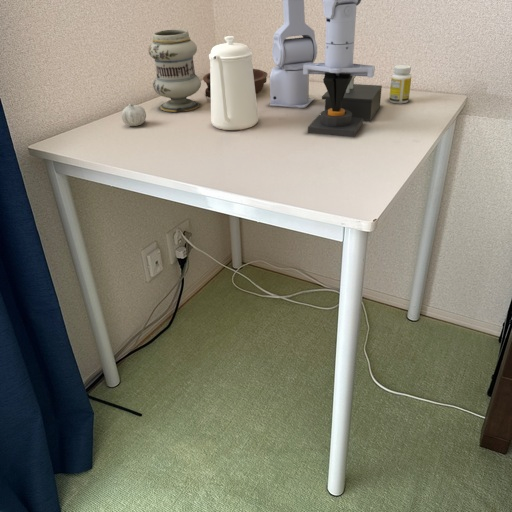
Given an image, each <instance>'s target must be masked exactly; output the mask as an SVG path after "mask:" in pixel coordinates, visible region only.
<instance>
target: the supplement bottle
mask: <svg viewBox="0 0 512 512" xmlns="http://www.w3.org/2000/svg"><path fill="white" fill-rule="evenodd" d="M411 67H412V66H411V65H408V64H396V65H394V66H393V74H392V75H391V76H390V77H391V78H390V88H389V98H388V99H389V100H388V101H389V102H390V103H392V104H399V105H400V104H406V103H408V102H409V99H410V92H411V84H412V74H410V73H411V70H412V68H411Z"/></svg>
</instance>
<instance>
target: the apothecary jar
mask: <svg viewBox="0 0 512 512" xmlns="http://www.w3.org/2000/svg"><path fill="white" fill-rule="evenodd" d="M197 52H198V47H197V44H196V42H195V41H194V40H193V39H191V37H190V35H189V31H188V30H186V29H182V28H179V29H176V28H174V29H163V30H159V31H156V32H153V34H152V42H151V43H150V45H149V46H148V55H149V56H150V57H151V59H153V60H154V65H155V72H156V78H155V79H154V80H153V83H152V88H153V90H154V92H155V93H156V94H158V95H159V96H161V97H164V98H168V99H169V100H168V101H166V102H163V103H162V104H161V105H160V110H162V111H164V112H167V113H180V112H188V111H193V110H195V109H197V108H199V103H198V102H197V101H196V100H194V99H193V100H192V99H190V98H188V97H191V96H193V95H195V94H196V93H197V92H198V91H199V89H200V88H201V86H202V81H201V79H200V77H199V76H198V75H197V74H196V70H195V64H194V63H195V62H194V56H195V55H196V54H197Z"/></svg>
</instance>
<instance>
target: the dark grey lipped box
mask: <svg viewBox="0 0 512 512" xmlns="http://www.w3.org/2000/svg"><path fill="white" fill-rule="evenodd" d="M382 89H383V88H381V90H380V91H379V93H378V94H377V96H376V97H375V99H374V100H373V101H372V103H371V102H355V101H342V105H341V108H342V109H345V110H348V111H350V112H351V113H352V117H356V118H363V122H367V123H369V122H372V120H373V118H374V116H375V115H376V113H377V112H378V110H379V109H380V107H381V100H382V99H381V98H382ZM331 108H332V105H331V100H325V101H324V111H325V110H328V109H331Z"/></svg>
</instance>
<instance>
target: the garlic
mask: <svg viewBox="0 0 512 512" xmlns="http://www.w3.org/2000/svg"><path fill="white" fill-rule="evenodd" d="M121 119H122V120H121V121H122V122H123V123H124V124H125V126H126V125H127V126H129V127H137V126H140V125H142V124H144V123H145V122H146V119H147V112H146V110H145V108H144V107H142V106H141V105H138V104H133V103H131V102H129V104H128V105H127V106H125V107H124V108H123V109H122V113H121Z"/></svg>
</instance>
